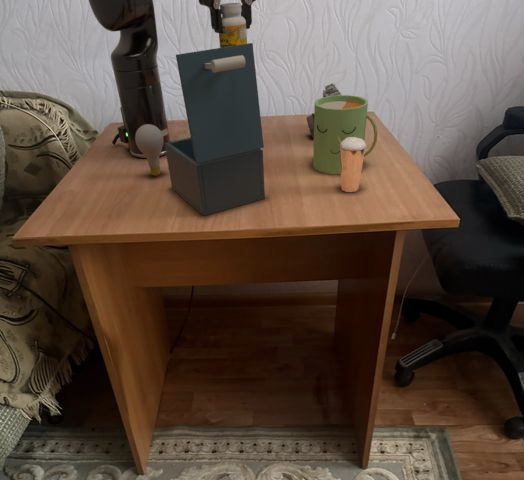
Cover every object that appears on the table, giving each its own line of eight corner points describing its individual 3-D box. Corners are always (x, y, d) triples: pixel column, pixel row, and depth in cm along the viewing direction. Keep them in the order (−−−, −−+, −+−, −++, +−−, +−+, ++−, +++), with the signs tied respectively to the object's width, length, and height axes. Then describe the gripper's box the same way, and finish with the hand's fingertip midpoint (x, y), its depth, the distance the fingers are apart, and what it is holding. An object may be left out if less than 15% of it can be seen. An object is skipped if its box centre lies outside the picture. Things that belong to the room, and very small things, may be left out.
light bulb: (173, 171, 103) (165, 121, 96) (162, 181, 99) (153, 129, 92) (150, 169, 104) (140, 120, 98) (138, 179, 100) (127, 128, 94)
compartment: (172, 189, 96) (164, 142, 90) (229, 174, 100) (224, 129, 95) (203, 216, 86) (196, 166, 80) (264, 198, 91) (262, 150, 85)
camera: (309, 132, 123) (298, 91, 117) (342, 120, 122) (333, 77, 115) (317, 154, 111) (306, 109, 105) (354, 141, 110) (345, 94, 103)
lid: (175, 54, 72) (188, 54, 68) (250, 43, 76) (266, 41, 72) (195, 163, 80) (207, 168, 77) (261, 147, 85) (276, 150, 81)
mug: (307, 172, 99) (308, 108, 91) (319, 154, 106) (321, 94, 99) (369, 177, 96) (376, 112, 88) (378, 158, 103) (384, 96, 95)
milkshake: (329, 187, 93) (332, 132, 86) (354, 182, 94) (359, 128, 88) (340, 196, 90) (344, 140, 83) (366, 191, 91) (371, 135, 84)
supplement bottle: (252, 60, 98) (250, 2, 92) (239, 66, 95) (235, 6, 89) (230, 59, 100) (226, 2, 94) (216, 64, 97) (210, 5, 91)
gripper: (249, -88, 88) (254, 24, 99) (176, -85, 83) (190, 33, 94) (271, -90, 83) (274, 28, 94) (194, -87, 78) (207, 37, 89)
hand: (232, 30), depth 94 cm, fingers closed on supplement bottle, 5 cm apart
